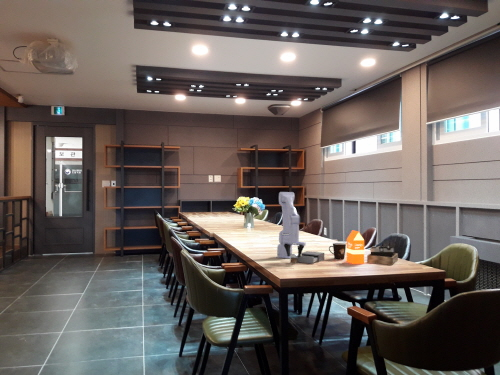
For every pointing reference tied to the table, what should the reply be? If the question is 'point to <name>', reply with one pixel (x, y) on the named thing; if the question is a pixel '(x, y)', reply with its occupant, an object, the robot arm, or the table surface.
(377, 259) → the frame
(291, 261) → the walnut block
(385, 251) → the camera
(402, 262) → the table surface
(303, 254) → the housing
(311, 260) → the grey drawer
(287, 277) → the table surface
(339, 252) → the coffee mug
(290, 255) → the disc
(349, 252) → the orange juice
